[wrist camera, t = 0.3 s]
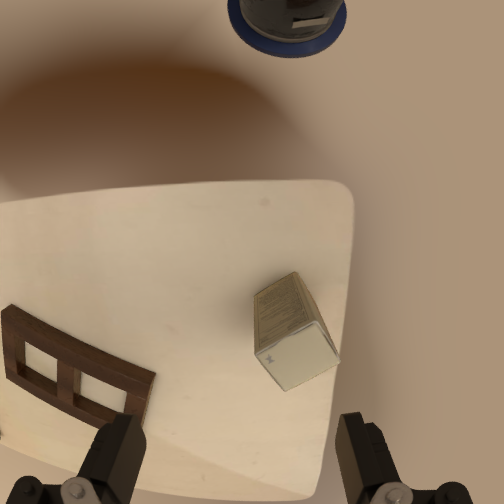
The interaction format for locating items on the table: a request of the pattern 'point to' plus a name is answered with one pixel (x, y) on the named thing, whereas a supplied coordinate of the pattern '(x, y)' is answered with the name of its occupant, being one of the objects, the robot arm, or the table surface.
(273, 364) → the box
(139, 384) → the socket pad
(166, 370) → the table surface
